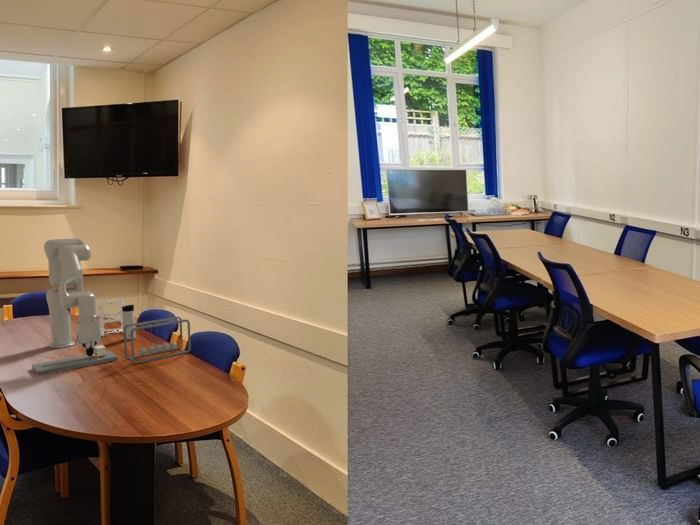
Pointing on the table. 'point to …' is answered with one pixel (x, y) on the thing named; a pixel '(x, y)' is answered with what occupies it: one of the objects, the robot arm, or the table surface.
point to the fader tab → (99, 350)
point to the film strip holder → (109, 316)
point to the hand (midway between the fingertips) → (90, 355)
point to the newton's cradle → (158, 347)
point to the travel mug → (128, 320)
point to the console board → (71, 363)
